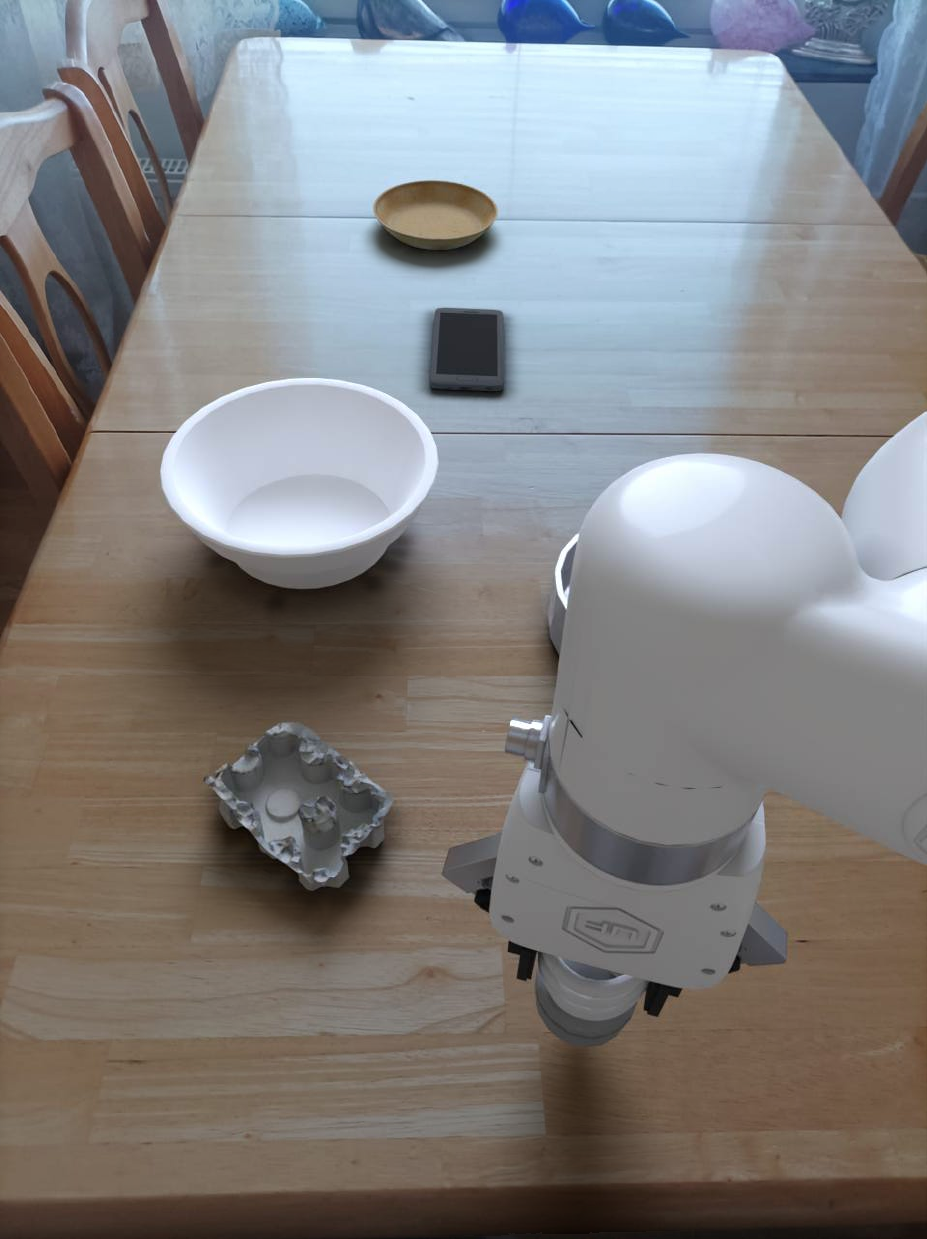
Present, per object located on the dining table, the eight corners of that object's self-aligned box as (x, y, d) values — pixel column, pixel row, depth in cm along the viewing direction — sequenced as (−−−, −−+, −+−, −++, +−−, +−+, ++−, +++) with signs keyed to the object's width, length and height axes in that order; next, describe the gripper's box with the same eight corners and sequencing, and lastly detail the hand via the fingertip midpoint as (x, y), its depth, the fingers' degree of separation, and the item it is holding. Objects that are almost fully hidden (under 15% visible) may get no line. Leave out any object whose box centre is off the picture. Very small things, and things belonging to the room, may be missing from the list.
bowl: (159, 484, 81) (137, 405, 75) (389, 433, 87) (387, 357, 80) (210, 663, 68) (189, 586, 62) (476, 590, 74) (481, 513, 68)
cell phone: (429, 389, 91) (429, 382, 91) (434, 312, 100) (434, 306, 100) (504, 392, 91) (504, 385, 91) (503, 315, 100) (503, 308, 100)
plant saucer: (504, 208, 117) (506, 187, 115) (486, 266, 107) (487, 244, 105) (389, 194, 118) (389, 174, 116) (360, 251, 109) (359, 229, 107)
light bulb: (556, 1087, 49) (579, 1007, 40) (509, 988, 53) (521, 895, 44) (647, 1041, 51) (690, 955, 42) (596, 949, 54) (625, 850, 45)
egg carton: (205, 808, 61) (192, 775, 58) (291, 736, 64) (284, 701, 61) (319, 913, 56) (312, 882, 53) (404, 828, 60) (403, 795, 57)
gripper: (386, 808, 32) (404, 996, 46) (906, 937, 29) (761, 1096, 43) (445, 646, 37) (446, 860, 51) (897, 744, 34) (769, 942, 48)
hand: (591, 967), depth 47 cm, fingers closed on light bulb, 5 cm apart
